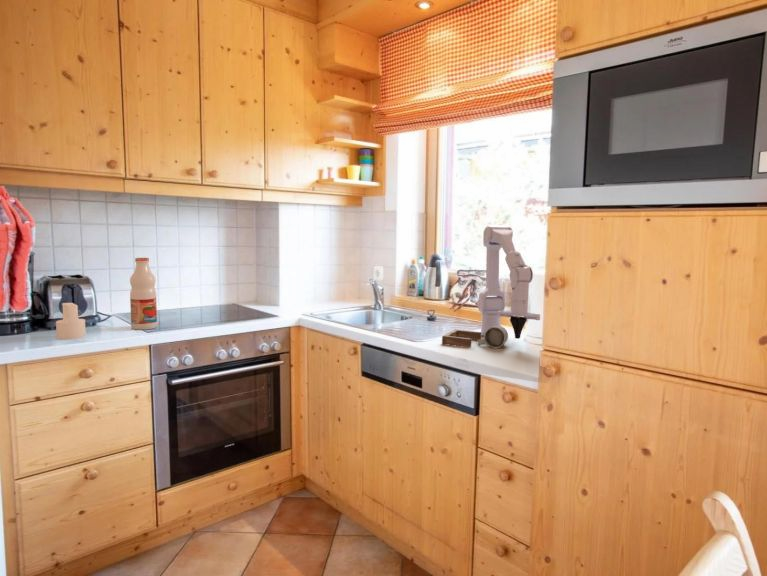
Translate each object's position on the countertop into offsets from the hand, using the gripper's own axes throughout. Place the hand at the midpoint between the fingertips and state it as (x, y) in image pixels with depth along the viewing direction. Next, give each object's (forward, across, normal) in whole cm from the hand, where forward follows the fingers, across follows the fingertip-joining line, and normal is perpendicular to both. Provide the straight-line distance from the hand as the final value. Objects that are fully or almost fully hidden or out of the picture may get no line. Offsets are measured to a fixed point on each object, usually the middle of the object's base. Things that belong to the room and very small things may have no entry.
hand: (517, 338), depth 181 cm
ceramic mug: (+4, -9, 0) cm, 10 cm away
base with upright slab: (+4, -146, -69) cm, 161 cm away
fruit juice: (+4, -139, -44) cm, 146 cm away
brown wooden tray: (+4, -20, 0) cm, 20 cm away
